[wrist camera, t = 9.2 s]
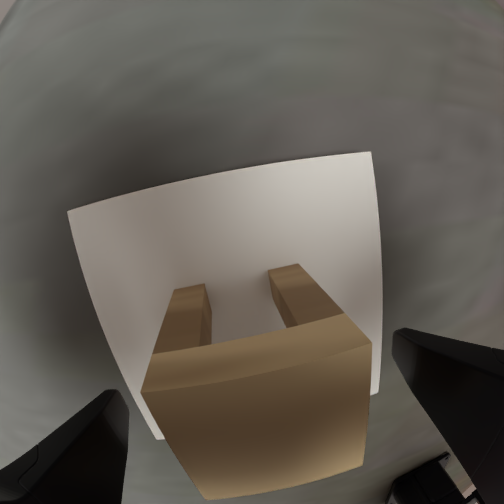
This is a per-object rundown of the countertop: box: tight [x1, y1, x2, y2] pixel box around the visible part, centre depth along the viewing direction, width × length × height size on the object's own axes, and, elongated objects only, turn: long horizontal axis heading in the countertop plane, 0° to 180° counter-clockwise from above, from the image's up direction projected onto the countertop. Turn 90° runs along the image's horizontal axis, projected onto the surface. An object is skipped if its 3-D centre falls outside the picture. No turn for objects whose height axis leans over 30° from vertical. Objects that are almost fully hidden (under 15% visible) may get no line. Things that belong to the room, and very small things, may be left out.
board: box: [67, 152, 383, 440], centre depth 12 cm, size 12×12×1 cm
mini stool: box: [140, 263, 372, 500], centre depth 9 cm, size 5×5×6 cm
